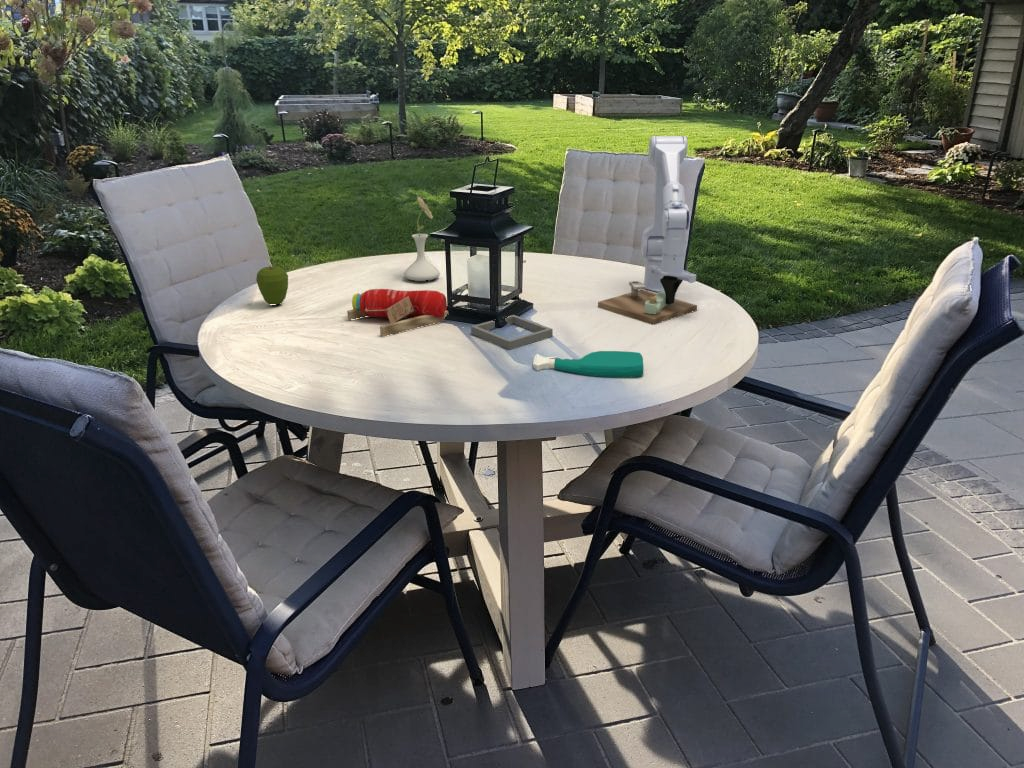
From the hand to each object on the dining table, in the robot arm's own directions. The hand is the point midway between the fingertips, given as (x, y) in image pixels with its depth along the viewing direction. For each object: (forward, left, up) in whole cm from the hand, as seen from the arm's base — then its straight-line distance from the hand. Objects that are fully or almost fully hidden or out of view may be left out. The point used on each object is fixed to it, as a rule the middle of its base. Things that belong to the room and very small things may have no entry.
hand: (669, 303), depth 210 cm
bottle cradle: (+60, -43, -2) cm, 73 cm away
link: (+3, -1, -1) cm, 3 cm away
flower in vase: (+32, -73, -3) cm, 79 cm away
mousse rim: (+45, -14, -2) cm, 47 cm away
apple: (+79, -77, -3) cm, 110 cm away
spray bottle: (+45, +14, -3) cm, 48 cm away
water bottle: (+60, -43, -2) cm, 73 cm away
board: (+3, -6, -2) cm, 7 cm away
